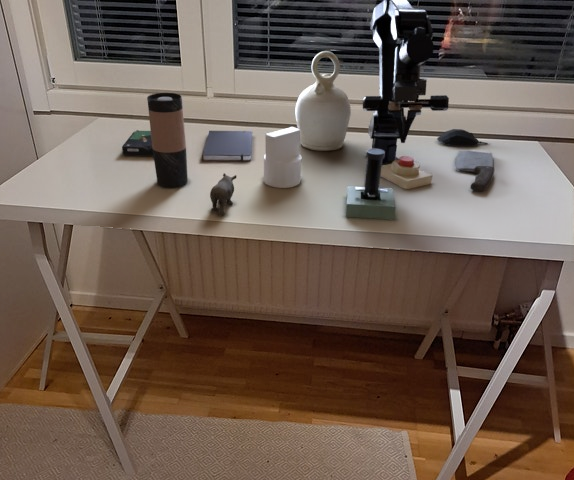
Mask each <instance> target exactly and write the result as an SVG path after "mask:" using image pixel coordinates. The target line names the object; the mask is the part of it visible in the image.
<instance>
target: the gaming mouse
mask: <svg viewBox="0 0 574 480" xmlns="http://www.w3.org/2000/svg"><path fill="white" fill-rule="evenodd" d="M437 142H439V143H440V144H443V145H446V146H449V147H450V146H451V147H473V146H477V145H478V144H481V145H482V144H483V145H488V142H484V141H480V140H478V138H476V136H474V134H473V132H470V131H467V130H465V129H462V128H452V129H450V130H447V131H444V132H443V133H442V134H441V135H439V136H438V137H437Z"/></svg>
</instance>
